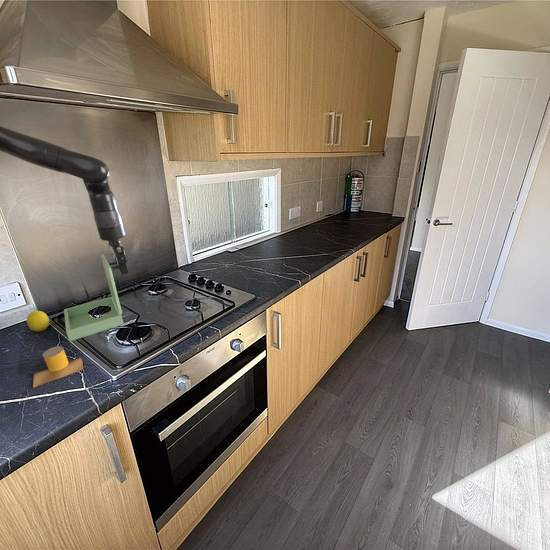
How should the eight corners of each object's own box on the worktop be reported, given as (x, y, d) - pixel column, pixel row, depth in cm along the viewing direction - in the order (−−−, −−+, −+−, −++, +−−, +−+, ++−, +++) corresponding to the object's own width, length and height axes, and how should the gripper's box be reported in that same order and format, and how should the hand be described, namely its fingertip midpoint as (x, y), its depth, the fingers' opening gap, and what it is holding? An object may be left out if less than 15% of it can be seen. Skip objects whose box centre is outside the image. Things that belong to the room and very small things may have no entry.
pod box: (70, 343, 91) (66, 331, 90) (67, 319, 105) (63, 309, 103) (124, 326, 100) (121, 315, 98) (115, 306, 113) (112, 296, 111)
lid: (108, 268, 91) (128, 264, 94) (100, 254, 104) (118, 251, 108) (119, 314, 98) (138, 309, 101) (111, 295, 111) (127, 291, 114)
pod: (48, 374, 78) (42, 359, 76) (48, 364, 82) (42, 350, 80) (69, 367, 81) (63, 352, 79) (68, 358, 84) (62, 344, 82)
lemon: (54, 331, 98) (46, 310, 95) (34, 338, 94) (24, 317, 91) (50, 325, 102) (42, 305, 98) (30, 332, 98) (21, 311, 95)
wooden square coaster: (33, 387, 74) (33, 386, 74) (35, 364, 83) (34, 363, 82) (83, 369, 80) (83, 368, 80) (80, 349, 88) (79, 348, 88)
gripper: (93, 222, 99) (108, 267, 106) (99, 230, 88) (114, 280, 95) (118, 218, 103) (130, 262, 110) (126, 225, 92) (139, 274, 99)
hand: (122, 270), depth 102 cm, fingers closed on lid, 6 cm apart
